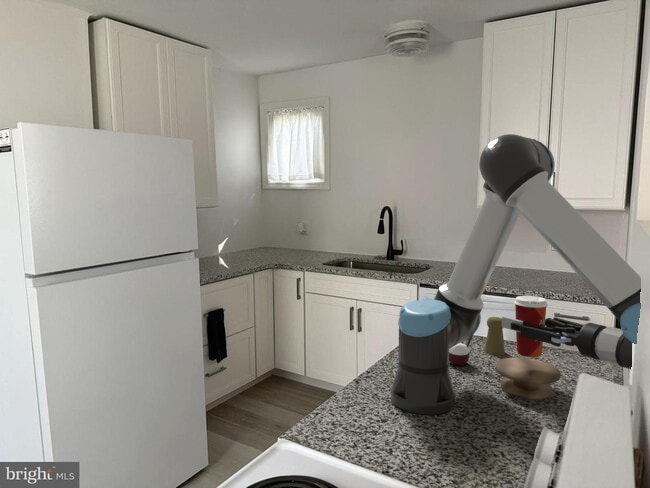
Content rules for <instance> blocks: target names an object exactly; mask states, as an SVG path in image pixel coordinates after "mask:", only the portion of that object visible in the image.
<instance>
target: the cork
mask: <svg viewBox="0 0 650 488" xmlns="http://www.w3.org/2000/svg"><path fill="white" fill-rule="evenodd" d="M486 325H487V327H488V328H487V329H488V330H487V334H486V339H485V346H484V353H486V354H487V355H491V356H503V355H506V349H505V340H504V330H503V329H504V328H503V327H502V317H498V316H491V317H488V318H487V321H486Z"/></svg>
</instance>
